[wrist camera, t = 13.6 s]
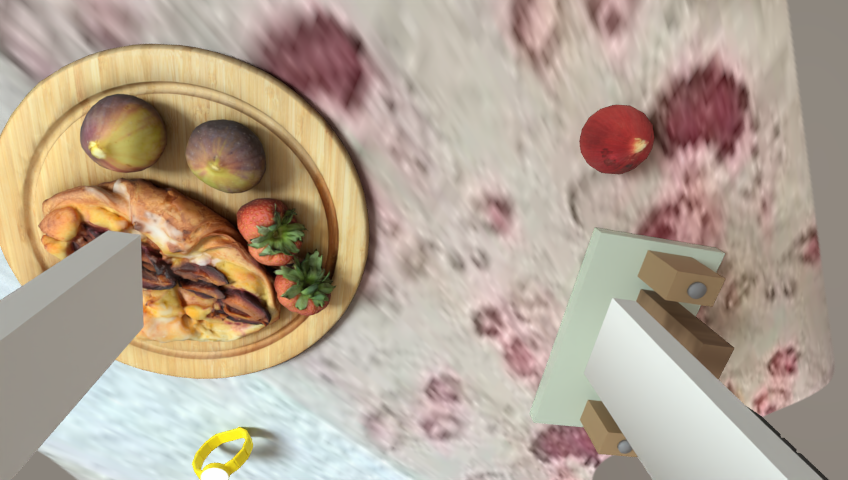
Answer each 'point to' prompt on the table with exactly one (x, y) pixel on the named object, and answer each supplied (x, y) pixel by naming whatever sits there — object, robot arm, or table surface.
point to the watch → (218, 474)
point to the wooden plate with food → (190, 202)
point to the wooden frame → (688, 331)
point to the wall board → (593, 291)
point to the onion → (616, 139)
